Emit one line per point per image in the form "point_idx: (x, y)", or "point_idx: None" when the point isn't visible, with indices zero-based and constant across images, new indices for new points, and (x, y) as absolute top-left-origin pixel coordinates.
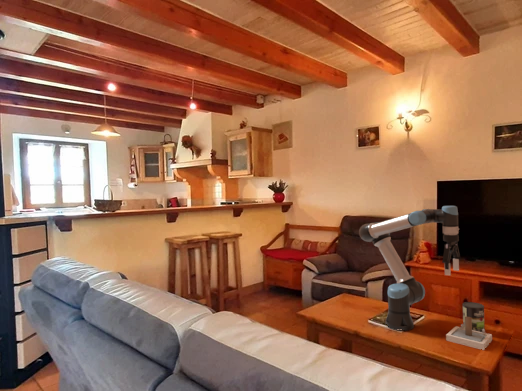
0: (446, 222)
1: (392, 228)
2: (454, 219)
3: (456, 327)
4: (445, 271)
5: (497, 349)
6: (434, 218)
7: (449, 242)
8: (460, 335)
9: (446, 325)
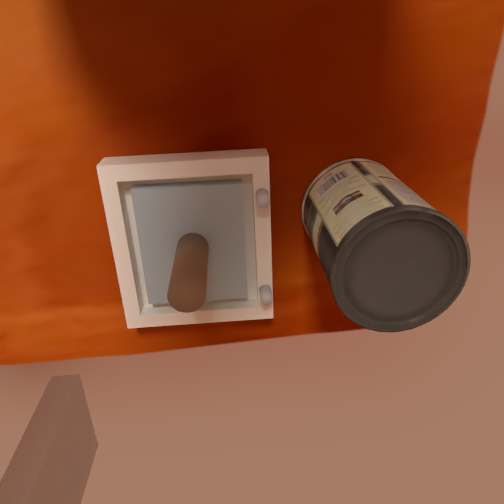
0: None
1: None
2: None
3: (250, 166)
4: (31, 443)
5: (185, 341)
6: None
7: None
8: (153, 221)
9: (331, 66)
